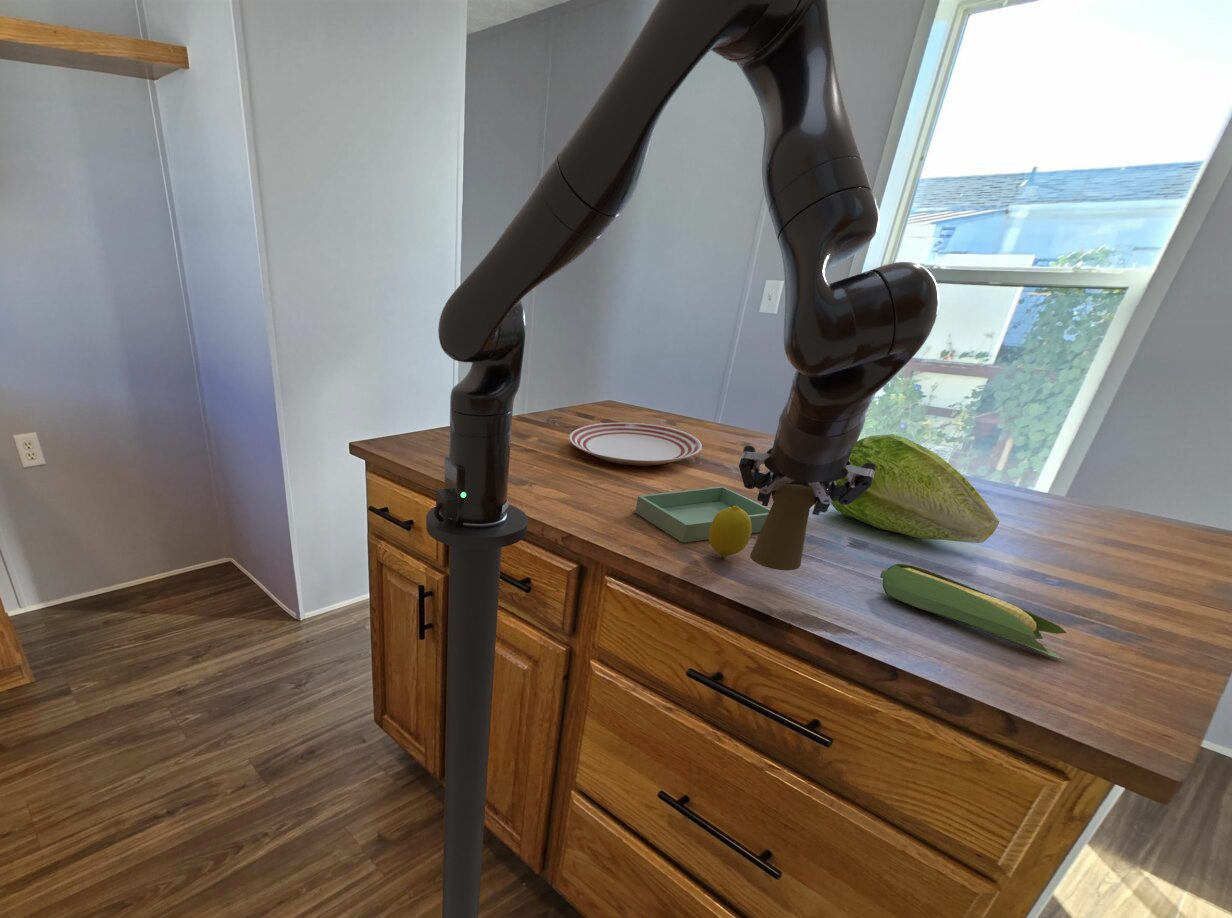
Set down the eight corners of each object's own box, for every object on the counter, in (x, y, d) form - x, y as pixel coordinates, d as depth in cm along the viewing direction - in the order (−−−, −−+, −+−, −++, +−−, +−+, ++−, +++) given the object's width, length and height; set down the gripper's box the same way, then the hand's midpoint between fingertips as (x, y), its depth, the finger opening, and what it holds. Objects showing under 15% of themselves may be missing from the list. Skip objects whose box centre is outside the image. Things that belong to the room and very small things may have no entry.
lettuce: (968, 529, 89) (1047, 465, 90) (810, 458, 105) (878, 405, 106) (946, 592, 99) (1017, 533, 100) (805, 518, 116) (867, 469, 117)
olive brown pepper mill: (773, 547, 89) (796, 468, 83) (811, 566, 84) (838, 483, 78) (739, 554, 86) (761, 474, 81) (776, 573, 82) (802, 489, 76)
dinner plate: (684, 482, 125) (687, 465, 124) (549, 459, 137) (550, 444, 136) (709, 447, 146) (712, 432, 144) (590, 430, 158) (592, 416, 156)
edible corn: (885, 585, 89) (897, 555, 86) (1071, 655, 74) (1091, 621, 72) (866, 595, 86) (877, 564, 84) (1054, 669, 72) (1074, 634, 69)
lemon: (707, 563, 94) (719, 511, 90) (700, 547, 99) (712, 497, 95) (747, 566, 93) (762, 514, 89) (739, 550, 98) (752, 500, 94)
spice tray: (682, 543, 101) (686, 524, 99) (635, 512, 112) (637, 495, 110) (773, 530, 105) (778, 512, 104) (719, 502, 116) (723, 486, 115)
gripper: (734, 452, 70) (723, 519, 85) (890, 474, 64) (849, 542, 79) (752, 392, 72) (738, 468, 87) (906, 409, 66) (862, 488, 81)
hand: (791, 503), depth 83 cm, fingers closed on olive brown pepper mill, 5 cm apart
